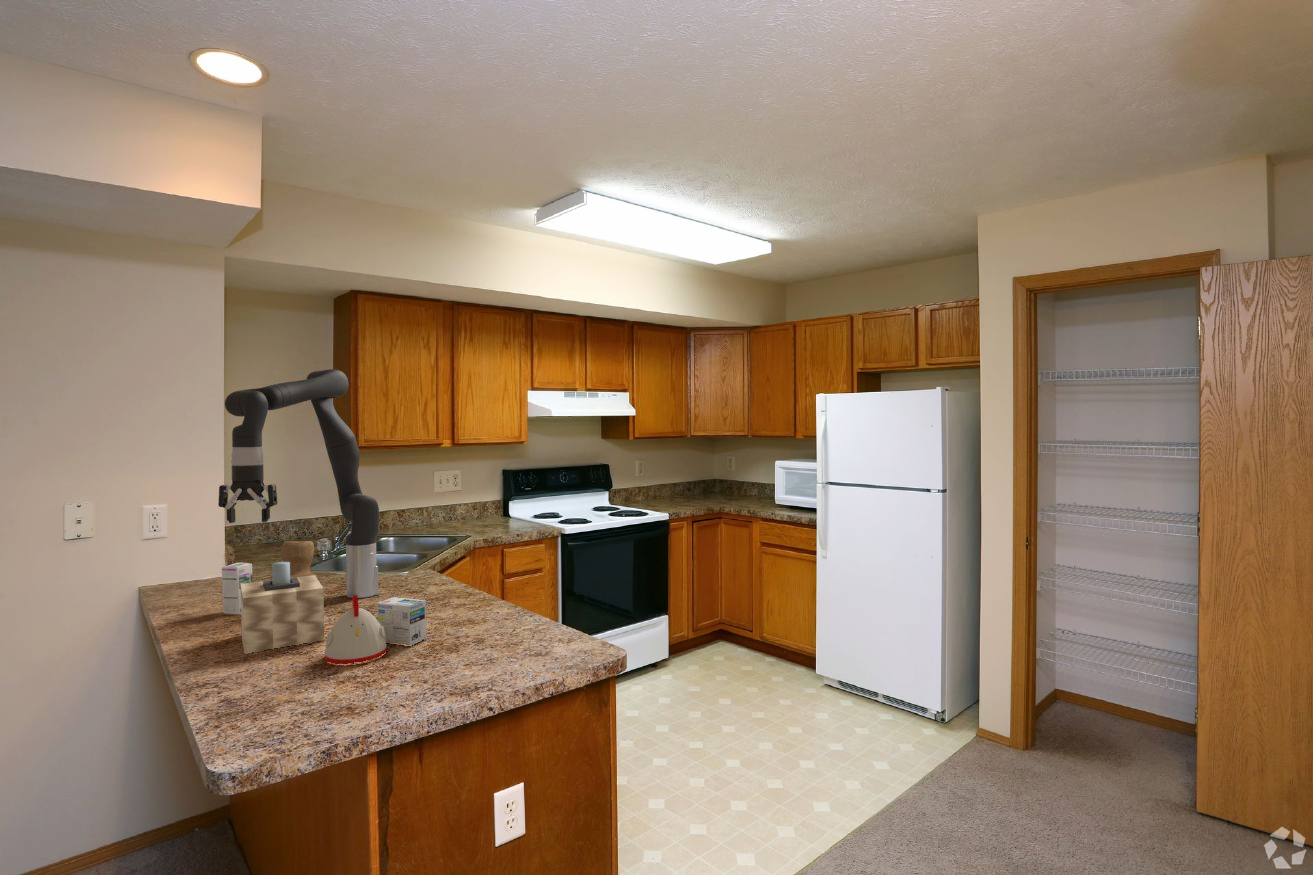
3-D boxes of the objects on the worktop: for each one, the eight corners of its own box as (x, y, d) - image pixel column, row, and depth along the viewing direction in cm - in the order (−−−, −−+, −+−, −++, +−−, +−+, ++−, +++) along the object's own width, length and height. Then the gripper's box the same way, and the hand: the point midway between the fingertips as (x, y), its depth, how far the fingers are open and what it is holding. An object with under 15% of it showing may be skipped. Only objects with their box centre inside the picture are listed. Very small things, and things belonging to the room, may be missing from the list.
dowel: (289, 605, 184) (289, 561, 183) (291, 608, 180) (290, 563, 180) (272, 607, 181) (271, 562, 181) (273, 611, 178) (272, 565, 178)
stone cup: (316, 576, 253) (315, 536, 253) (318, 582, 243) (317, 541, 243) (269, 581, 246) (268, 540, 245) (269, 588, 235) (269, 545, 235)
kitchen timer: (325, 670, 158) (324, 606, 157) (324, 652, 170) (323, 592, 169) (389, 660, 164) (388, 598, 164) (383, 643, 176) (382, 586, 176)
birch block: (315, 623, 193) (314, 575, 193) (324, 640, 178) (323, 587, 178) (241, 634, 184) (240, 583, 183) (244, 653, 169) (243, 598, 168)
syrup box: (239, 614, 203) (238, 566, 202) (222, 613, 204) (221, 565, 204) (254, 609, 208) (253, 562, 208) (237, 608, 210) (236, 562, 209)
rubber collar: (296, 580, 186) (296, 577, 186) (299, 586, 179) (299, 582, 179) (263, 584, 182) (263, 581, 182) (265, 591, 175) (265, 587, 175)
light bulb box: (427, 639, 179) (427, 599, 179) (410, 647, 173) (410, 605, 172) (394, 635, 183) (393, 595, 182) (376, 643, 176) (375, 602, 176)
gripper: (280, 462, 191) (281, 519, 191) (227, 462, 189) (228, 520, 190) (268, 464, 184) (269, 523, 184) (212, 464, 182) (213, 524, 182)
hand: (248, 522), depth 187 cm, fingers open, 8 cm apart
